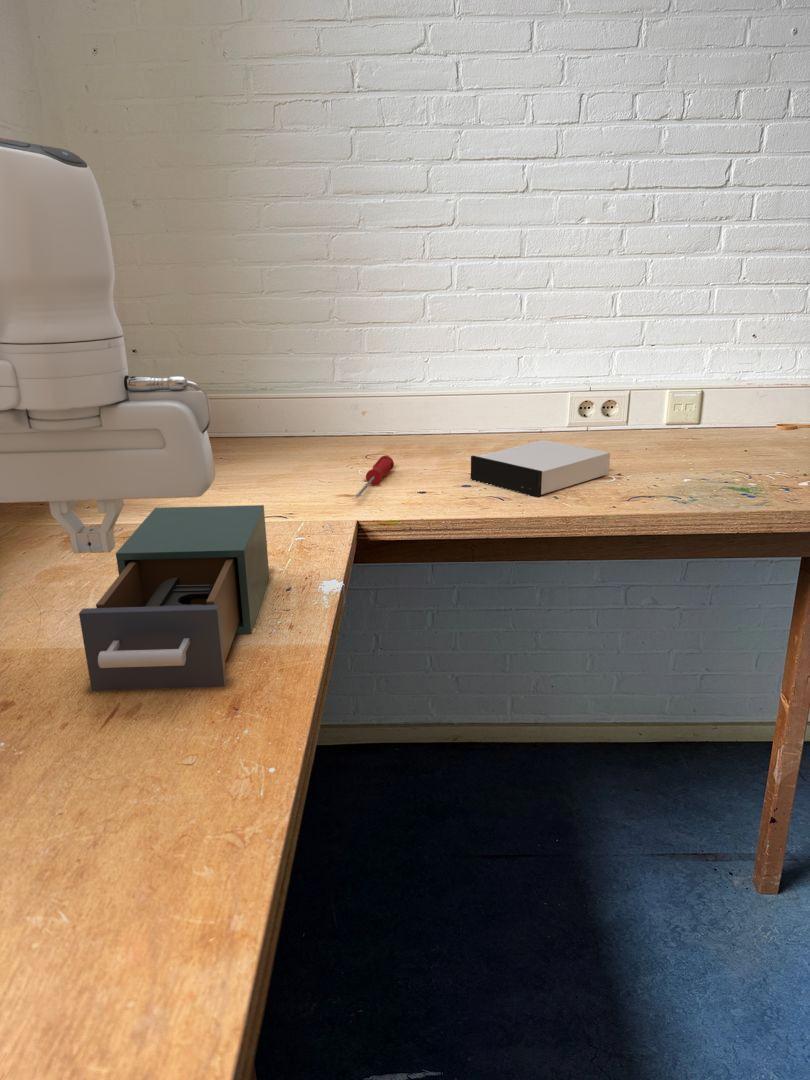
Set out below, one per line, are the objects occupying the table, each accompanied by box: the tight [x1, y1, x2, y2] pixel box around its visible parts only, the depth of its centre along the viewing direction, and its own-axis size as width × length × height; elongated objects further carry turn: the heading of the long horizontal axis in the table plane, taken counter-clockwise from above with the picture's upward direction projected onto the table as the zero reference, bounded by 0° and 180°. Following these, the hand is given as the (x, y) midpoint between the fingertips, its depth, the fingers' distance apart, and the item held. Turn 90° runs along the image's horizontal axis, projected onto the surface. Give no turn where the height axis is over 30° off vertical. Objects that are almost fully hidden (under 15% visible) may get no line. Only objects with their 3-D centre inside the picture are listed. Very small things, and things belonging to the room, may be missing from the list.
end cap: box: [144, 577, 214, 607], centre depth 87 cm, size 10×7×7 cm
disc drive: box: [470, 439, 611, 498], centre depth 161 cm, size 18×22×5 cm
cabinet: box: [115, 504, 270, 635], centre depth 103 cm, size 18×15×11 cm
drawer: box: [78, 557, 241, 692], centre depth 86 cm, size 21×14×9 cm, turn 2°
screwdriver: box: [355, 455, 395, 498], centre depth 156 cm, size 4×25×4 cm, turn 169°
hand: (94, 550), depth 65 cm, fingers closed
